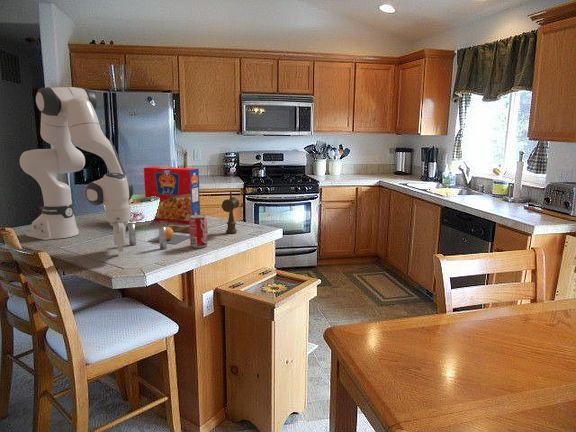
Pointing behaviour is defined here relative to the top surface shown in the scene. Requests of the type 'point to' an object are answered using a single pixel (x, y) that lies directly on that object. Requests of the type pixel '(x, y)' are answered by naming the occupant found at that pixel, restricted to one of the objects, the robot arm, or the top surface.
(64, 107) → the robot arm
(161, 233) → the right post
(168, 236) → the ball
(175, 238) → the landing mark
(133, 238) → the left post
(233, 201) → the kendama
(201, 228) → the soda can
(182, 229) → the stopper wall
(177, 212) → the pasta box
